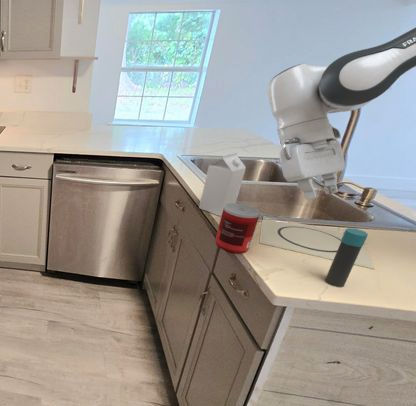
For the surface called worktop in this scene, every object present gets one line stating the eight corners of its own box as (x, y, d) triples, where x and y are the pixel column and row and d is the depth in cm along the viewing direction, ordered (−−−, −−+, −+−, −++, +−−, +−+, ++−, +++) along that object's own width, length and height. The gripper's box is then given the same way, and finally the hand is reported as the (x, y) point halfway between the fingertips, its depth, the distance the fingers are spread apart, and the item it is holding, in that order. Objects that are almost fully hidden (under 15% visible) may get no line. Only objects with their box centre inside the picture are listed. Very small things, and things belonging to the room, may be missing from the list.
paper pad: (360, 235, 101) (360, 234, 100) (374, 269, 86) (374, 267, 86) (261, 216, 113) (262, 215, 113) (259, 243, 98) (259, 242, 98)
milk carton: (198, 208, 120) (211, 152, 112) (211, 204, 123) (225, 149, 115) (220, 216, 114) (235, 158, 106) (233, 211, 117) (249, 154, 109)
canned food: (239, 240, 100) (250, 203, 96) (254, 255, 93) (267, 216, 89) (209, 238, 102) (218, 202, 97) (221, 253, 95) (232, 215, 90)
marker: (343, 281, 82) (366, 230, 77) (345, 289, 80) (369, 237, 74) (323, 276, 84) (344, 226, 79) (325, 283, 82) (346, 232, 76)
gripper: (299, 134, 76) (318, 199, 74) (342, 130, 84) (360, 188, 83) (265, 144, 81) (282, 204, 80) (309, 139, 90) (325, 193, 89)
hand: (322, 196), depth 82 cm, fingers open, 8 cm apart
